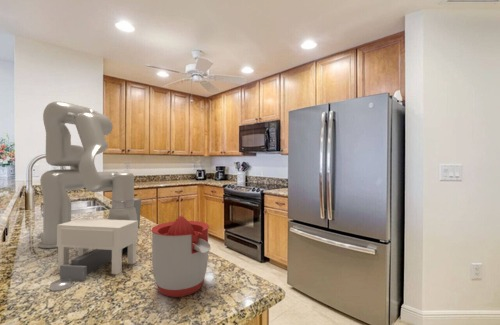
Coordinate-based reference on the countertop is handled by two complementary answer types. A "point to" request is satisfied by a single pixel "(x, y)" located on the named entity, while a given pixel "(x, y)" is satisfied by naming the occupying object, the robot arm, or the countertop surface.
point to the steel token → (61, 284)
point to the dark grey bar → (85, 264)
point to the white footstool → (98, 239)
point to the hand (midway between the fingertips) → (122, 251)
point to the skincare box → (137, 209)
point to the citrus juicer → (180, 256)
